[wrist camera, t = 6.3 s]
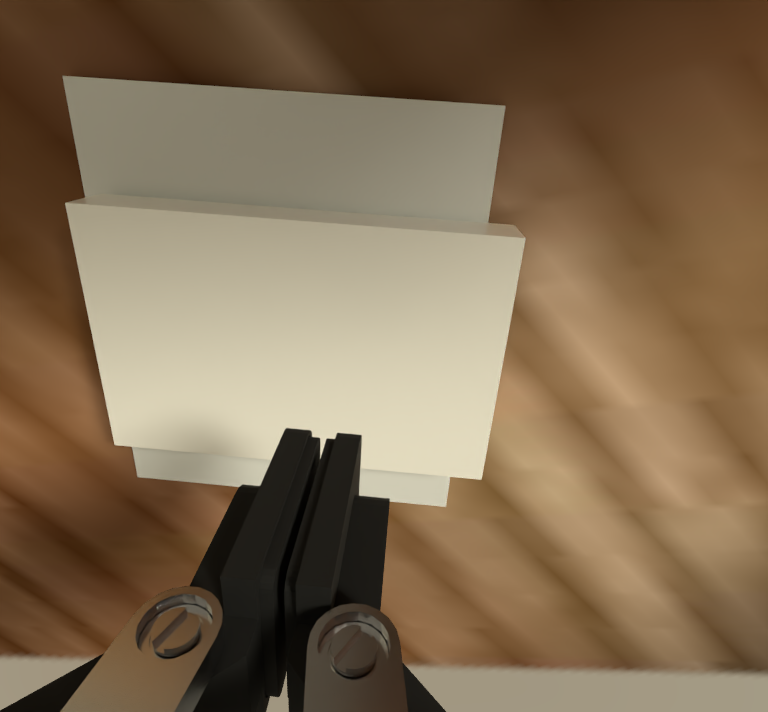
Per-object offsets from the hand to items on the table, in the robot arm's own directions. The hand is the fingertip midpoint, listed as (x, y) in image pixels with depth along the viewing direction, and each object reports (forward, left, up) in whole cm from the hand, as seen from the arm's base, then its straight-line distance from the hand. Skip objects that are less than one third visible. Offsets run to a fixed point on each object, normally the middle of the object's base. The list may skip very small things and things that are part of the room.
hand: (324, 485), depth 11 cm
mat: (+3, 0, -9) cm, 10 cm away
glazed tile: (-5, 0, -7) cm, 9 cm away
